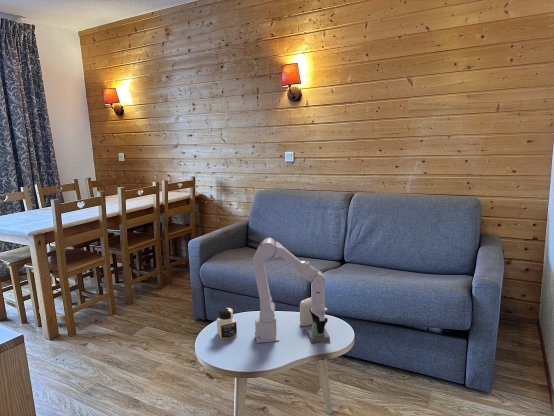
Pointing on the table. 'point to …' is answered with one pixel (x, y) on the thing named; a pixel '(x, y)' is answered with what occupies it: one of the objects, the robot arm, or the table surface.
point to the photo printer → (305, 312)
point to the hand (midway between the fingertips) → (318, 329)
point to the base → (318, 337)
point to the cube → (314, 330)
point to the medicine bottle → (226, 324)
